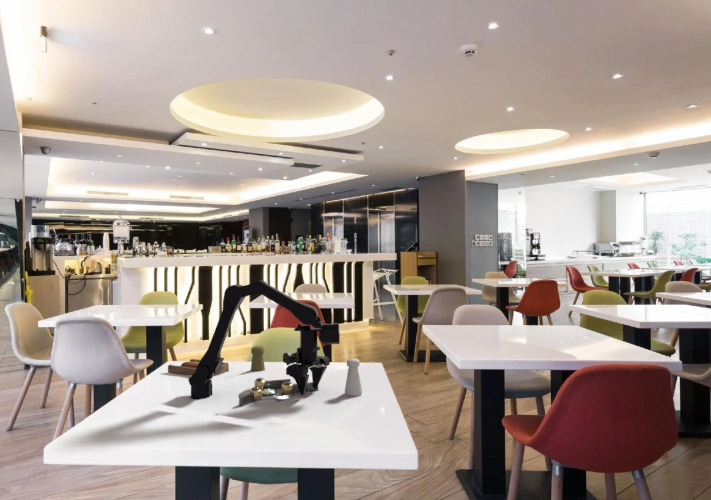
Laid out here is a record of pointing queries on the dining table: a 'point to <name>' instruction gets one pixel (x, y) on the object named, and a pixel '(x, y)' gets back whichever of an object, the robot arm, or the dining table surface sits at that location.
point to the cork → (257, 359)
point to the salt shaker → (353, 378)
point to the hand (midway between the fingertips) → (308, 391)
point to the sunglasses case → (190, 364)
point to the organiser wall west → (181, 370)
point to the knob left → (269, 383)
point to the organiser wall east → (199, 361)
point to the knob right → (295, 388)
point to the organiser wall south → (223, 369)
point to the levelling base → (262, 396)
